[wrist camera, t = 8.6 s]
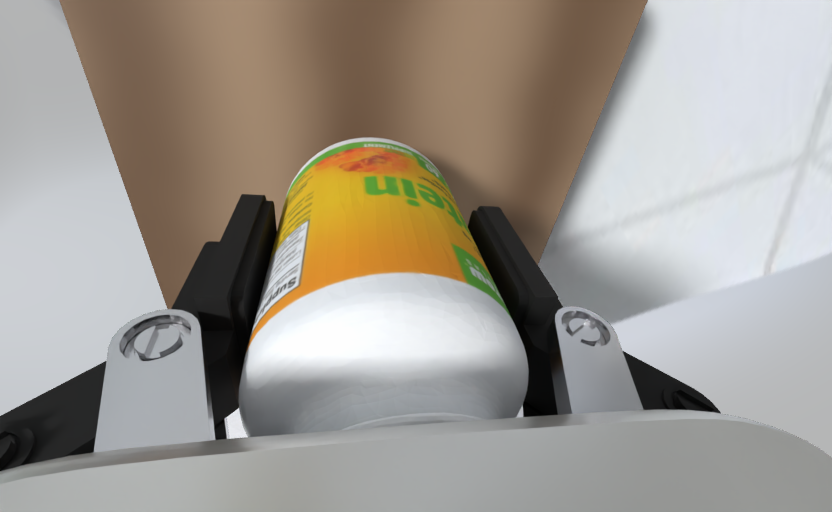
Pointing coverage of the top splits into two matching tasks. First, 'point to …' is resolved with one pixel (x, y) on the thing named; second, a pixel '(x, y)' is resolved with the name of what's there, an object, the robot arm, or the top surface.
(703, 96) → the top surface
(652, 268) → the top surface
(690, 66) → the top surface
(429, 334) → the supplement bottle
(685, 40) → the top surface
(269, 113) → the walnut base
